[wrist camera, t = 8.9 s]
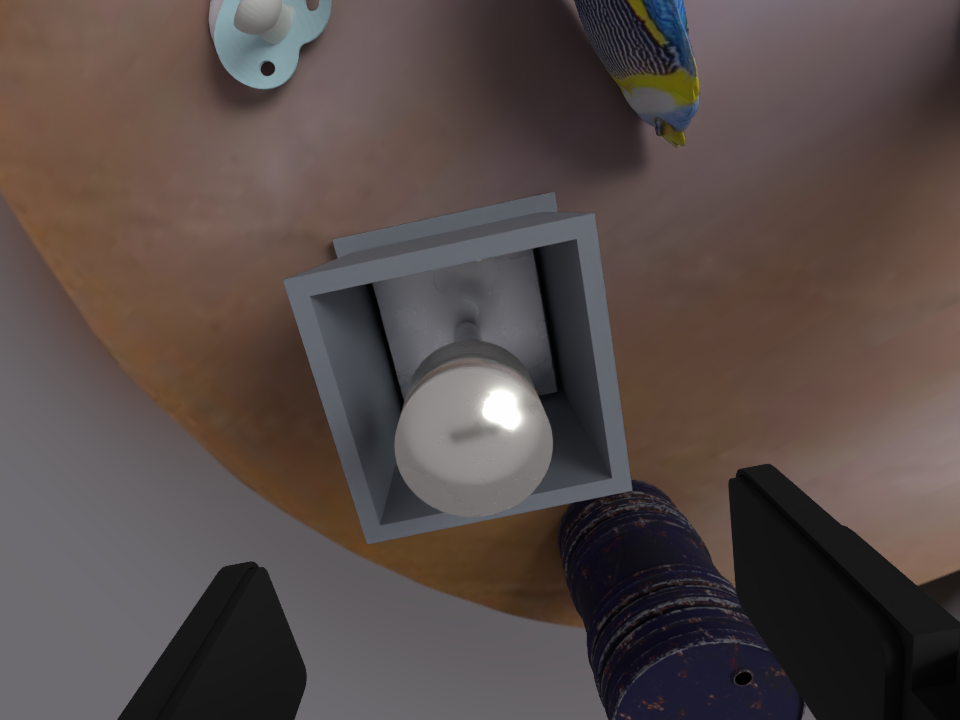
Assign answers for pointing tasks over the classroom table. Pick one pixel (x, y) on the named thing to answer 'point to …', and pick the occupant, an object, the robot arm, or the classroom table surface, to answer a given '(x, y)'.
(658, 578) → the dark blue cylinder
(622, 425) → the press housing
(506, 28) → the classroom table surface
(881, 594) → the robot arm
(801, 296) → the classroom table surface
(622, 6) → the tropical fish figurine
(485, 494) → the plunger
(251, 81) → the pacifier
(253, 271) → the classroom table surface
